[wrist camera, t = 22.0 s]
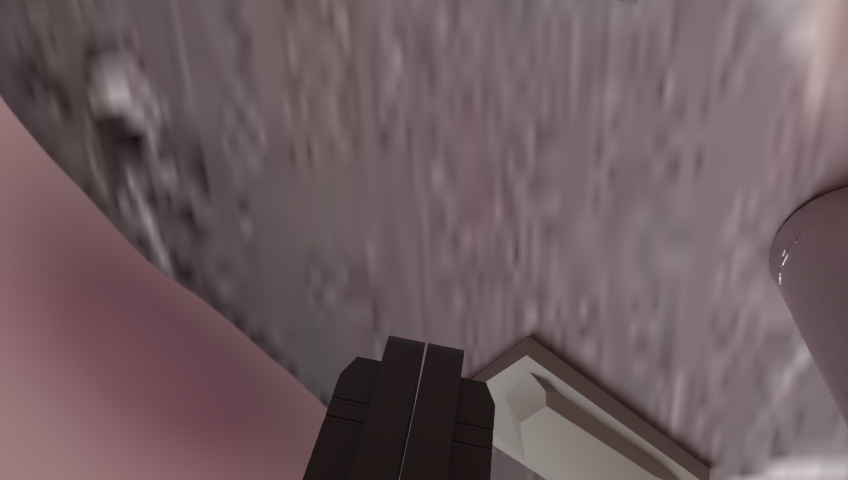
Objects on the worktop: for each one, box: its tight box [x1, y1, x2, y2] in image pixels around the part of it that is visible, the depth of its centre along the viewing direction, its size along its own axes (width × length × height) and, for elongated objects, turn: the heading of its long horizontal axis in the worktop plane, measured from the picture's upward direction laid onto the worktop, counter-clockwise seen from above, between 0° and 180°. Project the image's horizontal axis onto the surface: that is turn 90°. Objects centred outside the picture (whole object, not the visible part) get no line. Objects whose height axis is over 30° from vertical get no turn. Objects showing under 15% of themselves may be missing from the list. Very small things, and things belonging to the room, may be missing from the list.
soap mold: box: [471, 336, 710, 480], centre depth 51 cm, size 10×20×4 cm, turn 52°
